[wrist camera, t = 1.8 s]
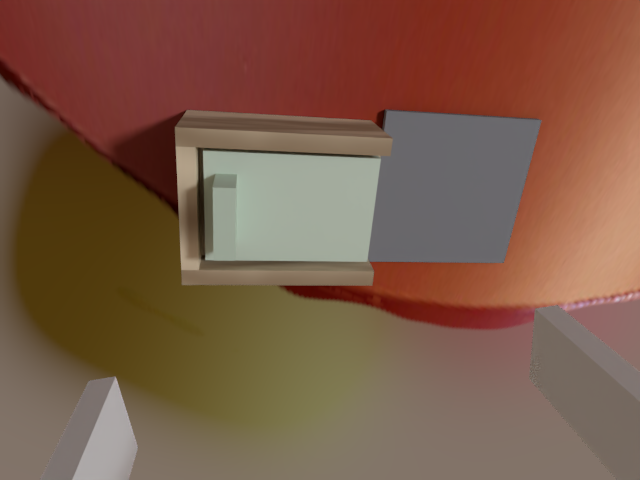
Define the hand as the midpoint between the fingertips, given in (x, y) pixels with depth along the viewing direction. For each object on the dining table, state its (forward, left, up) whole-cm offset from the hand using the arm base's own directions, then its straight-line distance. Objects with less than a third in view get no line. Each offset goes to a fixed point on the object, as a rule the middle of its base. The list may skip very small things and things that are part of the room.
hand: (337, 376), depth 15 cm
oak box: (+2, 0, -25) cm, 25 cm away
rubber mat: (+2, +14, -25) cm, 29 cm away
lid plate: (+2, 0, -21) cm, 22 cm away
